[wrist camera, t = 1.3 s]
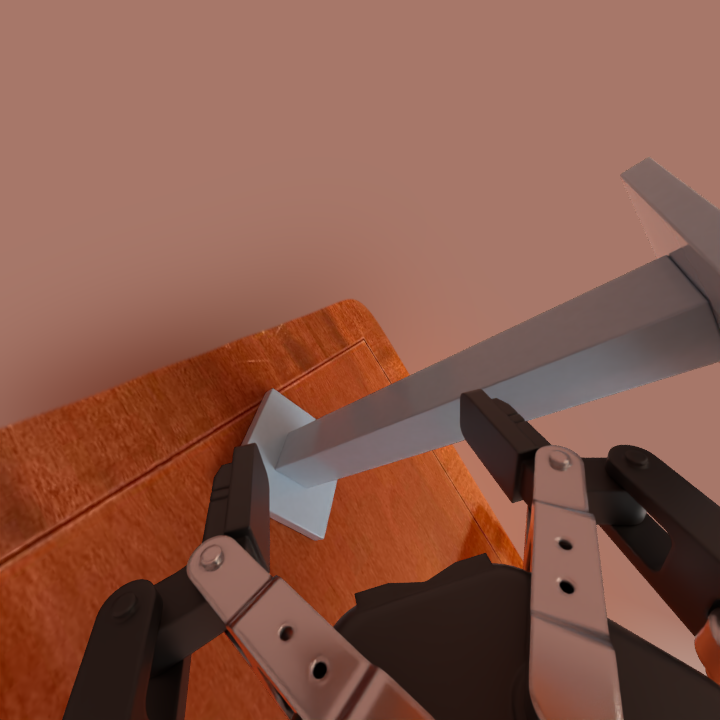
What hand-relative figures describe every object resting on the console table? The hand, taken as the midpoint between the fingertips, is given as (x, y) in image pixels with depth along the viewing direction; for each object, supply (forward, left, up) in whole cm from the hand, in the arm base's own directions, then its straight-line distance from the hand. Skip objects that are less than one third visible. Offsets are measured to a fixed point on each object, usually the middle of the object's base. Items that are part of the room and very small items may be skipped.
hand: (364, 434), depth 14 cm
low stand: (+5, +5, -13) cm, 15 cm away
